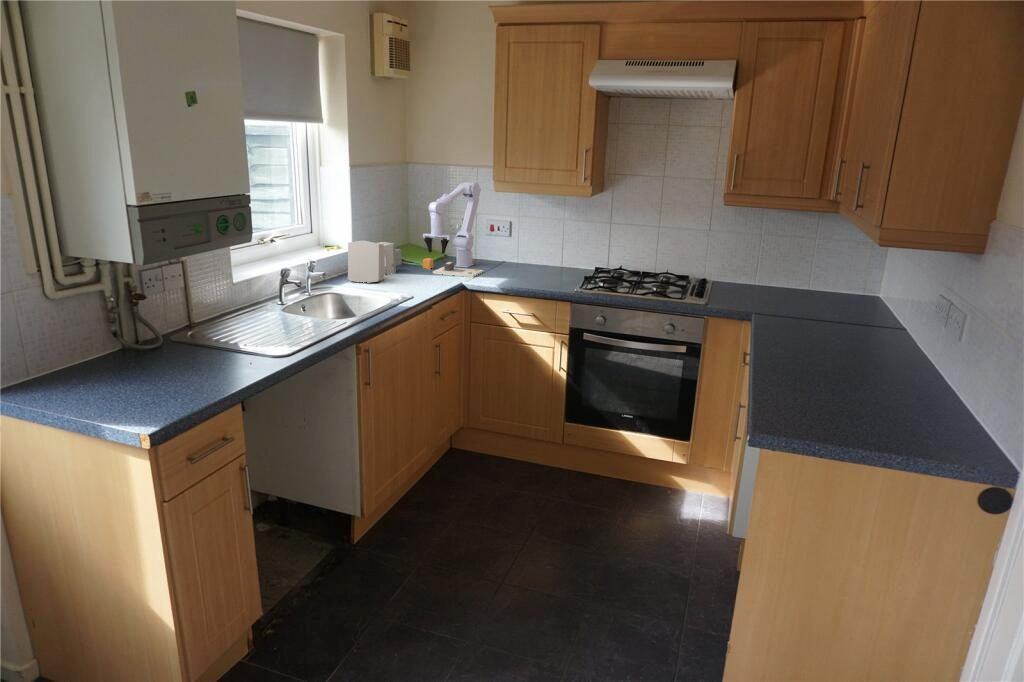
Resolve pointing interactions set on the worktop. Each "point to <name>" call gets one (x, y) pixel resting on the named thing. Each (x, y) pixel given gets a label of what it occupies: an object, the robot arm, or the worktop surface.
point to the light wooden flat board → (458, 272)
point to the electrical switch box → (365, 261)
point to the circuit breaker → (391, 257)
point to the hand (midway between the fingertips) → (436, 252)
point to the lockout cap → (427, 263)
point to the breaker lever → (449, 266)
